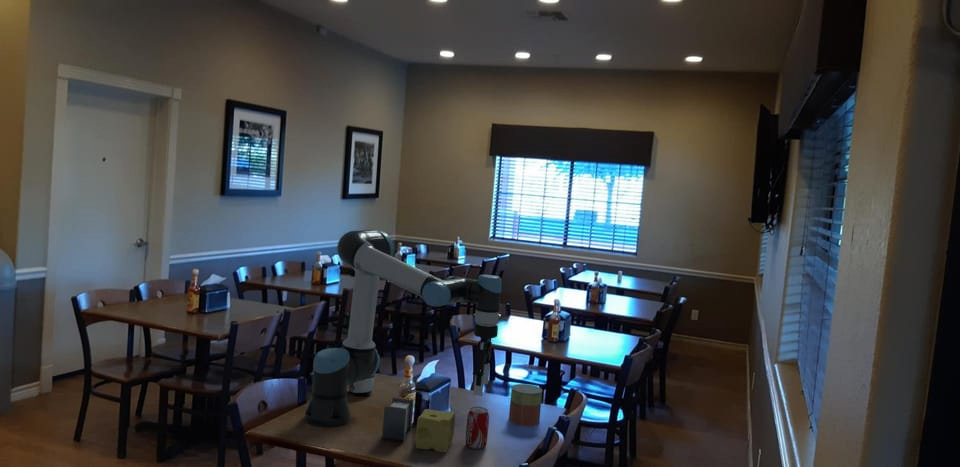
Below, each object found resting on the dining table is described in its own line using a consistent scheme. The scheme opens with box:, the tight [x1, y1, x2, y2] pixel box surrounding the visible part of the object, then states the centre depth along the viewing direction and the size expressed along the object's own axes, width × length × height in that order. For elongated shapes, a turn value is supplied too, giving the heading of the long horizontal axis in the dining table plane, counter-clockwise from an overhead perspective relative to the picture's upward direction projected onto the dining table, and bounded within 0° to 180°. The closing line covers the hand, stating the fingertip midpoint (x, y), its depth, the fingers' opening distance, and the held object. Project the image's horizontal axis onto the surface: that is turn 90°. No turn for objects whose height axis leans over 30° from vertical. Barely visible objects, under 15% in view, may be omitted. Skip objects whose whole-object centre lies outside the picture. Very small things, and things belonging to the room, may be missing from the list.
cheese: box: [415, 408, 456, 454], centre depth 219 cm, size 10×11×10 cm
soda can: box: [465, 406, 490, 450], centre depth 221 cm, size 7×7×12 cm
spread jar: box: [347, 374, 375, 397], centre depth 264 cm, size 12×11×12 cm
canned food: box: [508, 383, 544, 428], centre depth 249 cm, size 11×11×12 cm
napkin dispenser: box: [381, 396, 414, 444], centre depth 224 cm, size 10×7×11 cm
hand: (481, 389), depth 221 cm, fingers open, 13 cm apart
